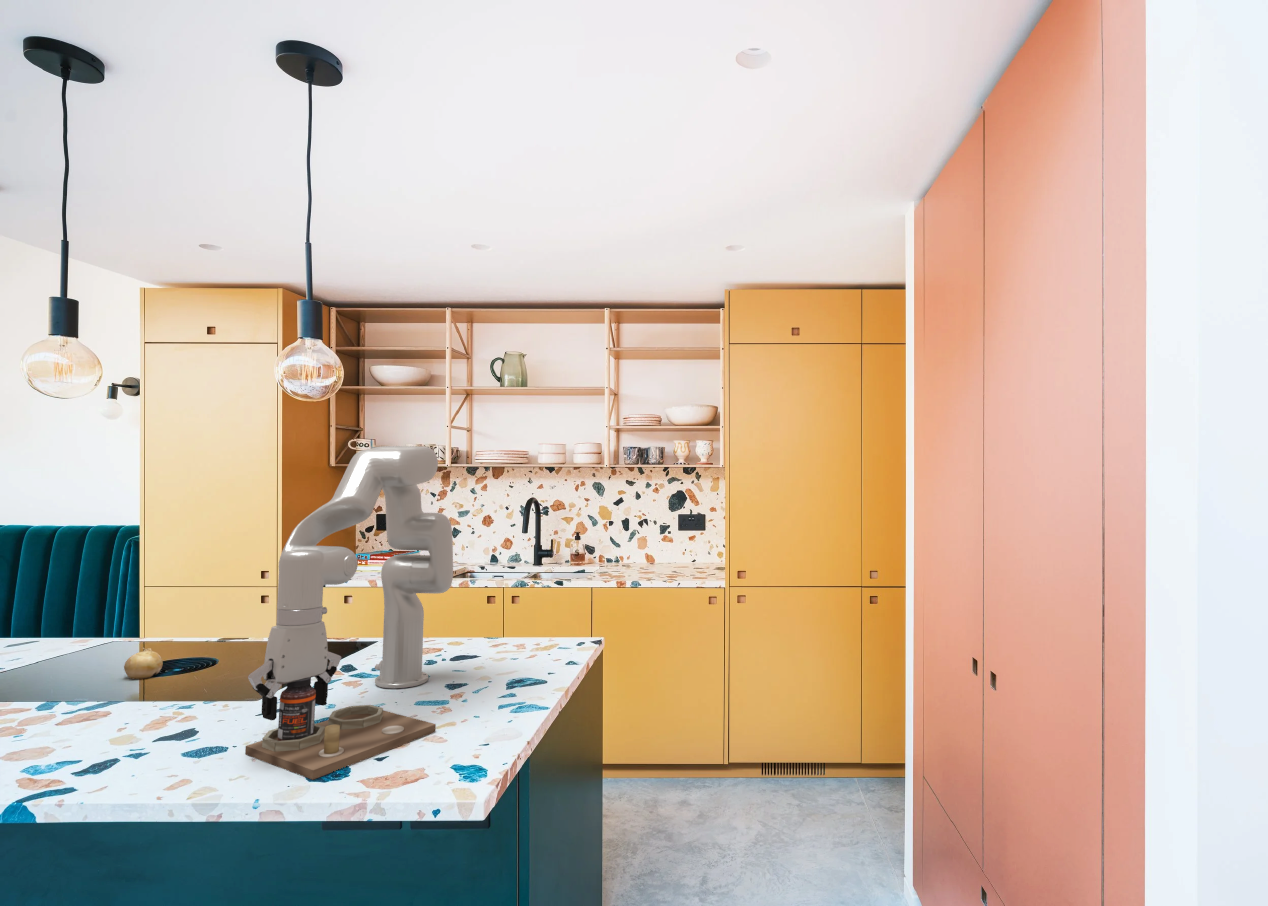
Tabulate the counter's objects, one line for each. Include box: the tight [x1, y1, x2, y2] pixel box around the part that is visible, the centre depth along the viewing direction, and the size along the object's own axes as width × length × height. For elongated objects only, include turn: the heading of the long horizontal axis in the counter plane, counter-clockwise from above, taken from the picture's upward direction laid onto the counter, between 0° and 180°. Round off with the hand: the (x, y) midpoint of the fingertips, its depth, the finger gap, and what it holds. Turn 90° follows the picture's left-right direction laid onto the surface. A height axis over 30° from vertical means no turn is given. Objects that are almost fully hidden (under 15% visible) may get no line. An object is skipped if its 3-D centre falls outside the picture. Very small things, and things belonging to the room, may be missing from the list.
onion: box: [123, 647, 164, 680], centre depth 166 cm, size 8×8×7 cm
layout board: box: [244, 704, 437, 780], centre depth 123 cm, size 20×26×6 cm
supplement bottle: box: [277, 677, 316, 741], centre depth 120 cm, size 6×6×11 cm
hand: (295, 711), depth 120 cm, fingers open, 9 cm apart
